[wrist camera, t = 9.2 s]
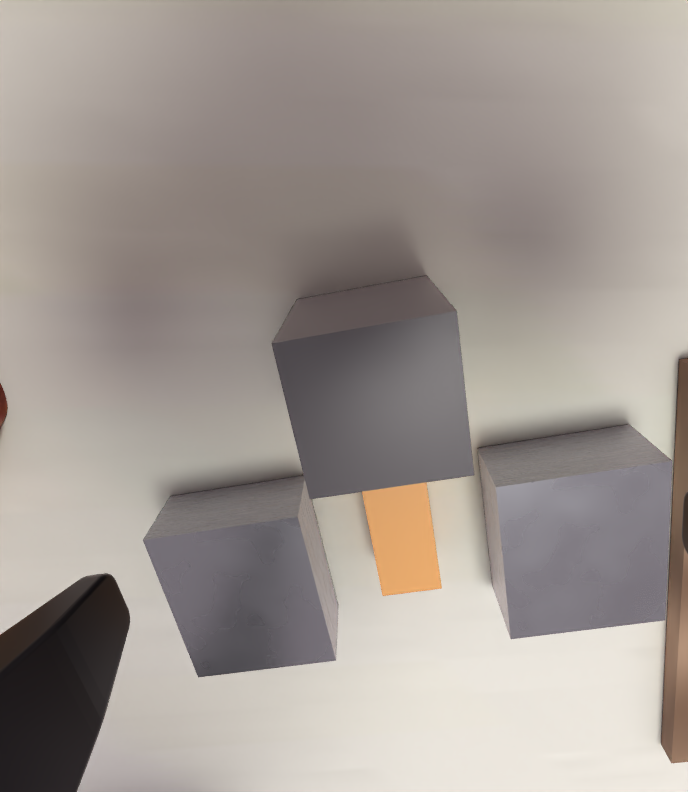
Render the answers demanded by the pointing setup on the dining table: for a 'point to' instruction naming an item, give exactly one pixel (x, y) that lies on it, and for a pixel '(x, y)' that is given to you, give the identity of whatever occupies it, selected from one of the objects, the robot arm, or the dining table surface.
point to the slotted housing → (507, 542)
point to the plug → (379, 412)
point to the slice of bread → (2, 405)
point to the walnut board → (677, 596)
